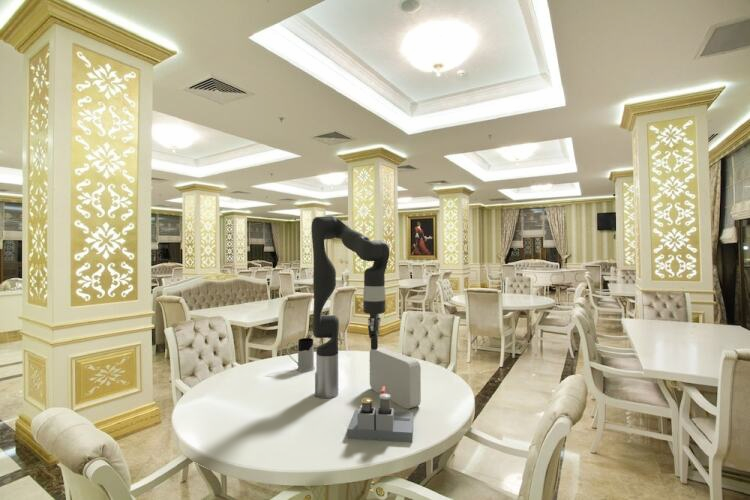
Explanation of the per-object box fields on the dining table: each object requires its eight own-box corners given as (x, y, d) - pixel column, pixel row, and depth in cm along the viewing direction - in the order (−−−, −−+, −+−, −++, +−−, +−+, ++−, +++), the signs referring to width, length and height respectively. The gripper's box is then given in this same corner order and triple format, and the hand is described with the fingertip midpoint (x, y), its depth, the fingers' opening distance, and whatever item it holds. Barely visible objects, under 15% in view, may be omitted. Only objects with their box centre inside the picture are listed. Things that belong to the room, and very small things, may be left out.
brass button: (360, 417, 123) (360, 401, 123) (362, 412, 127) (362, 397, 127) (371, 418, 123) (371, 402, 123) (373, 413, 127) (373, 398, 127)
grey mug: (313, 371, 190) (312, 341, 190) (284, 371, 190) (284, 341, 190) (315, 366, 199) (315, 337, 199) (288, 366, 199) (288, 337, 199)
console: (347, 438, 123) (347, 413, 123) (355, 417, 138) (355, 395, 138) (412, 442, 120) (412, 416, 120) (413, 420, 135) (413, 398, 135)
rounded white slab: (425, 406, 148) (425, 360, 148) (410, 411, 144) (409, 363, 144) (383, 384, 172) (383, 345, 172) (369, 388, 167) (369, 347, 167)
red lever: (378, 420, 128) (378, 390, 128) (379, 414, 133) (379, 386, 133) (387, 420, 128) (387, 391, 128) (388, 415, 132) (388, 386, 132)
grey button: (379, 413, 123) (379, 397, 123) (380, 408, 126) (380, 393, 126) (390, 413, 122) (390, 398, 122) (390, 409, 126) (390, 393, 126)
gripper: (383, 301, 123) (383, 355, 123) (387, 296, 136) (387, 344, 136) (360, 301, 124) (360, 354, 124) (366, 295, 137) (366, 343, 137)
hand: (374, 348), depth 130 cm, fingers closed
